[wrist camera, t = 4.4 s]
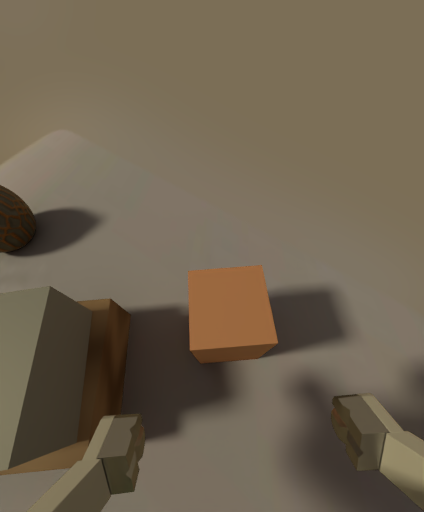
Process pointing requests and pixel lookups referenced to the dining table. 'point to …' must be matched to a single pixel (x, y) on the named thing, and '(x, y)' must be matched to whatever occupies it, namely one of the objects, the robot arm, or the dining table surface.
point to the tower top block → (40, 372)
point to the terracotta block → (229, 314)
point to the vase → (14, 221)
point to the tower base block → (93, 383)
